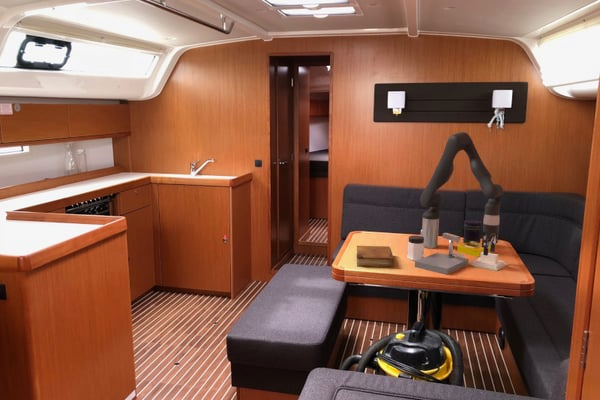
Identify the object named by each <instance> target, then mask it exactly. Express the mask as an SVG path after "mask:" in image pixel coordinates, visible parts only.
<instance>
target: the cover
mask: <svg viewBox="0 0 600 400" xmlns="http://www.w3.org/2000/svg"><path fill="white" fill-rule="evenodd" d="M472 263H473V264H477V265H482V266H487V267H491V268H498V267H500V266H502V265H504V263H505V261H504V260H499V254H498V253H493V252H492V253H488V255H487V256H486V255H483V252H481V256H480V257H478V258H476V259H474V260H473V262H472Z"/></svg>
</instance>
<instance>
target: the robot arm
mask: <svg viewBox="0 0 600 400" xmlns="http://www.w3.org/2000/svg"><path fill="white" fill-rule="evenodd" d="M461 151H464V152H465V154H466V155H467V157H468V159H469V166H470V170H471V173H472V175H473V176H474V177H475V179H476V181H477V182H478V184H479V186H480V189H481V191H482V193H483V195H484V196H485V197H486V198H487V199H488V202H486V203H485V205H484V215H483V225H482V231H483V232H484V233H485V235H482V239H481V243H482V247H483V248H484V251H483V255H486V256H487V255H488V248H489V245H491V247H490V251H491V252H492V253H495V252H496V245H497V244H498V242H499V231H500V209H501V207H500V206H501V204H502V200H503V197H504V189H503V187H502V186H501V185H500V184H498V183H495V184H494V183H493V181H492V178H493V177H492V175H491V173H490V171H489V170H488V168H487V167H486V166H485V164H484V162H483V160H482V159H481V157H480V155H479V152H478V150H477V148H476V146H475V144H474V142H473V139H472V137H471V136H470V135H469V133H468V132H464V131H462V132H458V133H454V134H452V135H450V136H449V137H448V139H447V142H446V143H445V147H444V149H443V151H442V152H443V153H442V155H441V158H440V159H439V161H438V163H437V165H436V166H435V169H434V172H433V174H432V176H431V178H430V180H429V181H428V184H427V185H426V186H425V188H424V190H423V191H422V193H421V195H420V199H419V200H420V201H419V202H420V205H421V206H422V207H424V208H429V209H427V210H426V211H423V213H422V227H421V230H420V236H422V237H424V249H425V248H427V249H436V248H438V243H439V242H438V241H439V223H440V215H441V207H442V195H441V192H440V191H438V190H439V189H440V188H441V187H442V186H444V185H445V184H446V183H447V182H448V181H449V180H450V179H451V177H452V175H453V173H454V170H455V166H454V165H455V164H454V160H455V158H456V156H457V155H458V153H459V152H461Z"/></svg>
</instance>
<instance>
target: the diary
mask: <svg viewBox="0 0 600 400" xmlns="http://www.w3.org/2000/svg"><path fill="white" fill-rule="evenodd" d="M356 266H357V268H358V267H359V268H383V269H384V268H385V269H386V268H387V269H389V268H391V269H393V268H394V267H395V259H394V256H393V252H392V249H391V247H390V246H386V245H385V246H384V245H380V246H379V245H356Z"/></svg>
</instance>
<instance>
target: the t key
mask: <svg viewBox="0 0 600 400" xmlns="http://www.w3.org/2000/svg"><path fill="white" fill-rule="evenodd" d="M442 238H443V239H444V240H445V239H446V240H448V254H447V255H449V256H452V255H453V256H457V257H461V258H465V255H463V254H462V253H459V252H455V251H454V248H453V247H454V242H455V243H458V242H459V243H460V242H461V236H458V235H456V234H451V233H448V232H442Z"/></svg>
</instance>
